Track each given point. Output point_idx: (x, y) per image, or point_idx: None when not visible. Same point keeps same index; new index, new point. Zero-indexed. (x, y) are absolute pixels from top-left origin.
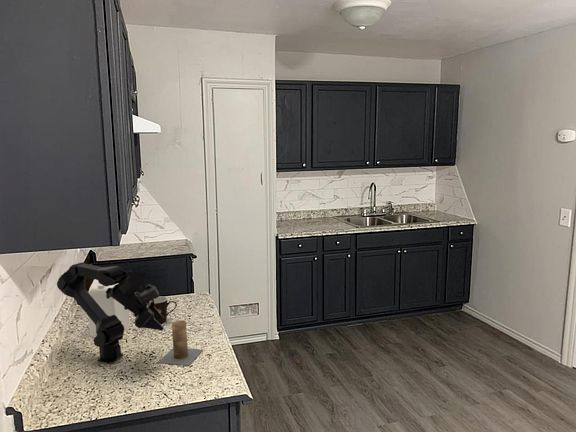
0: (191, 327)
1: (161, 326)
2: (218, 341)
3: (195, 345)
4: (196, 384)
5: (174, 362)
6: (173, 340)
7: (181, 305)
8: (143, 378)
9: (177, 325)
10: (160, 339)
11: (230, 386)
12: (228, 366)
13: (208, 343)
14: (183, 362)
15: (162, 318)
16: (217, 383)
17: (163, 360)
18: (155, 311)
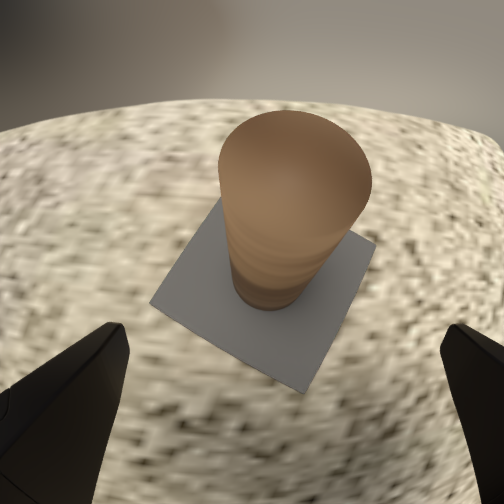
0: (4, 210)
1: (492, 341)
2: (177, 118)
3: (169, 200)
4: (486, 236)
5: (334, 309)
6: (303, 282)
7: None
8: (422, 436)
9: (360, 183)
10: (38, 355)
11: (486, 156)
12: (393, 126)
13: (176, 150)
14: (346, 267)
15: (121, 340)
16: (479, 179)
17: (294, 365)
18: (42, 448)
